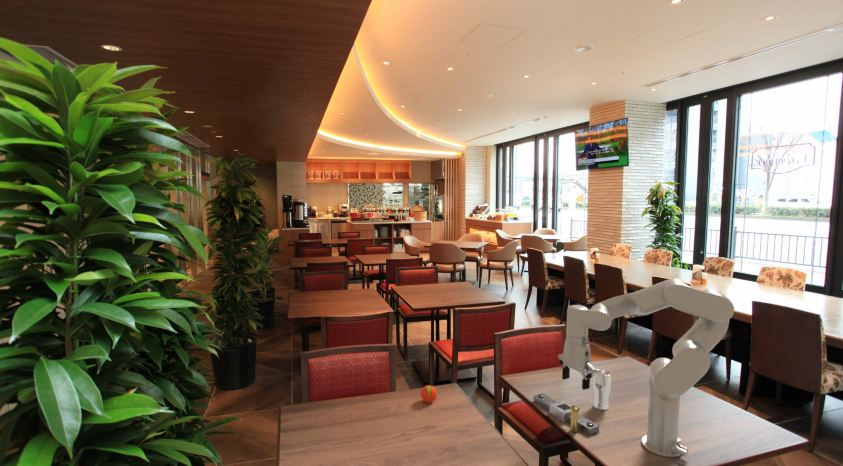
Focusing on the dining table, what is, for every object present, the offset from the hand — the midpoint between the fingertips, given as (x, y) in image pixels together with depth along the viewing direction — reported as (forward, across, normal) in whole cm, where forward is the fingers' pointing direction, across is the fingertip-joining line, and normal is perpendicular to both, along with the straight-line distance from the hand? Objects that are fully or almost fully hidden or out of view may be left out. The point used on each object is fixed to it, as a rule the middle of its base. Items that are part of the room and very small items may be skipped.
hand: (575, 383), depth 162 cm
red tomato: (+19, +45, +38) cm, 62 cm away
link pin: (+18, 0, 0) cm, 18 cm away
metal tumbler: (+18, +8, -24) cm, 31 cm away
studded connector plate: (+18, +10, -5) cm, 21 cm away
